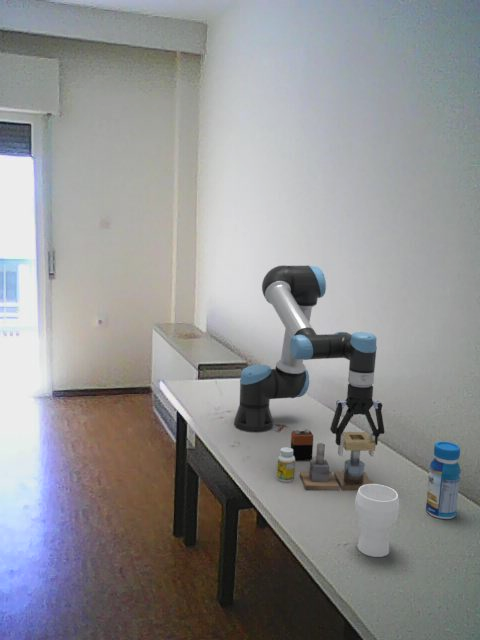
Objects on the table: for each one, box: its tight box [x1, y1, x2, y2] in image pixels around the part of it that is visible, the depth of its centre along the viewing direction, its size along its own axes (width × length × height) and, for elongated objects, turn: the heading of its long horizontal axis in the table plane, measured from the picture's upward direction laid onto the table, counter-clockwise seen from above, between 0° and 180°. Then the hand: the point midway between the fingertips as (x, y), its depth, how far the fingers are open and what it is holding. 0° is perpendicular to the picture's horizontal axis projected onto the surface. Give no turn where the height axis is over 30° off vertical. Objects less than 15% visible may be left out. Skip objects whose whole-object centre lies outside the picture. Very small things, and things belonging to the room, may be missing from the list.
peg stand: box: [333, 451, 374, 491], centre depth 183 cm, size 10×10×12 cm
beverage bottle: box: [425, 441, 462, 520], centre depth 166 cm, size 8×8×20 cm
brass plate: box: [342, 431, 377, 452], centre depth 182 cm, size 9×9×2 cm
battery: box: [290, 428, 314, 462], centre depth 201 cm, size 4×7×10 cm, turn 97°
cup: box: [354, 483, 400, 558], centre depth 146 cm, size 11×11×15 cm
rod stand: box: [299, 442, 340, 491], centre depth 182 cm, size 10×10×12 cm
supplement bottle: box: [276, 446, 296, 483], centre depth 185 cm, size 5×5×10 cm
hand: (355, 454), depth 183 cm, fingers closed on brass plate, 9 cm apart
